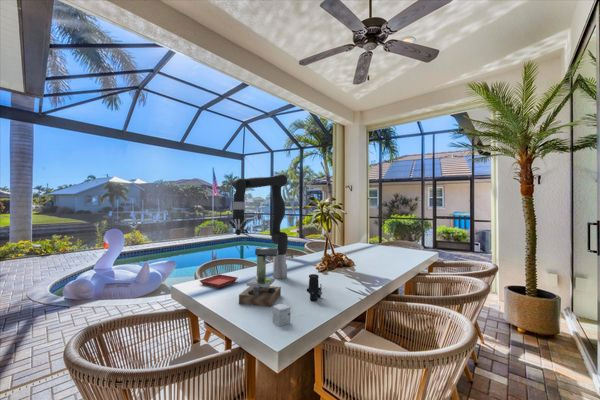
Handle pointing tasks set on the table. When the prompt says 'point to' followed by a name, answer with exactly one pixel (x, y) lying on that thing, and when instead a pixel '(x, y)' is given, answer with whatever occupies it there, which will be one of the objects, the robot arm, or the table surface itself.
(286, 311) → the skincare box
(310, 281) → the scope
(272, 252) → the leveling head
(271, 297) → the wooden block with holes
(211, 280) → the plant saucer
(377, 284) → the table surface
